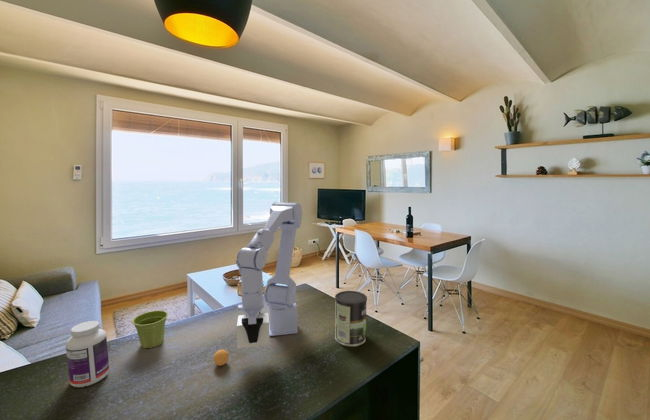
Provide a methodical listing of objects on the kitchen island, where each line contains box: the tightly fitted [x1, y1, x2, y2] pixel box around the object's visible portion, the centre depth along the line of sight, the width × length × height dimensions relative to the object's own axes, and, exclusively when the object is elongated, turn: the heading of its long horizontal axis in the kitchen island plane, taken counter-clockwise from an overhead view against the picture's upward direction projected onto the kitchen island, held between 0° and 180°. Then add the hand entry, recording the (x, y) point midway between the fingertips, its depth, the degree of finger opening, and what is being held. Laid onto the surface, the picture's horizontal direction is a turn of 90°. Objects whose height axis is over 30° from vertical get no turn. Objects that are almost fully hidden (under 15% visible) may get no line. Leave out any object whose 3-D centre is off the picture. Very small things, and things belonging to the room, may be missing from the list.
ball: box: [213, 349, 229, 367], centre depth 81 cm, size 4×4×4 cm
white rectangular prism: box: [236, 312, 270, 350], centre depth 82 cm, size 9×6×7 cm
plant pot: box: [131, 310, 169, 349], centre depth 90 cm, size 9×9×9 cm
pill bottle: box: [65, 320, 110, 388], centre depth 74 cm, size 8×8×14 cm
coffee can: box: [334, 290, 368, 347], centre depth 94 cm, size 10×10×14 cm
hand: (253, 335), depth 82 cm, fingers closed on white rectangular prism, 6 cm apart
